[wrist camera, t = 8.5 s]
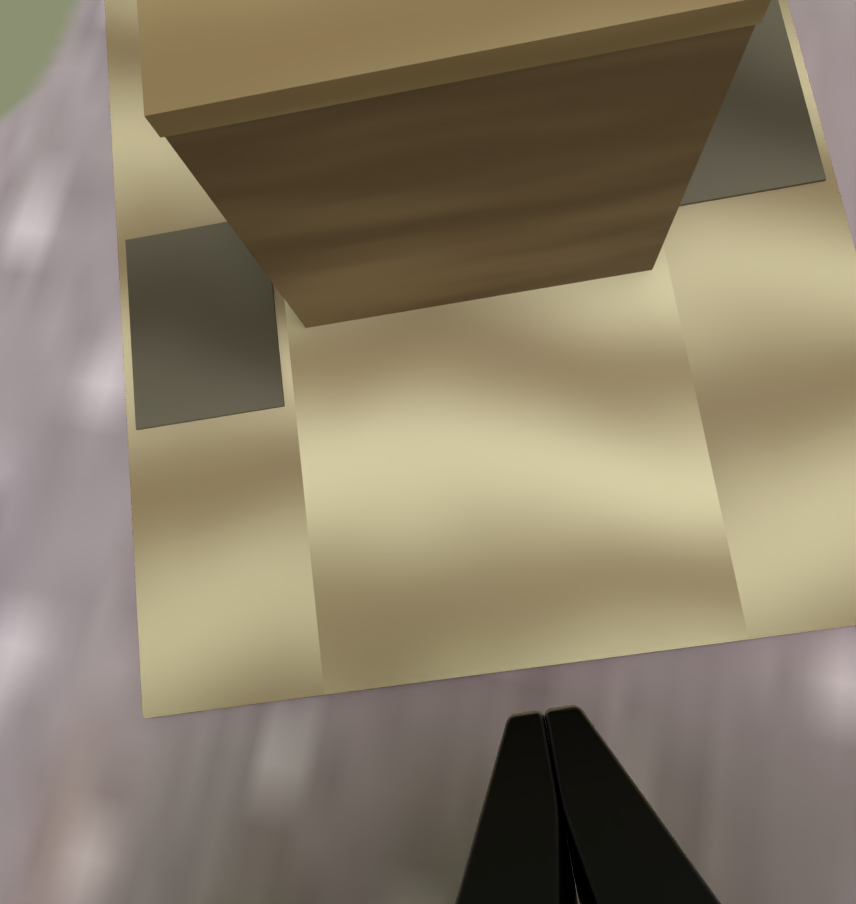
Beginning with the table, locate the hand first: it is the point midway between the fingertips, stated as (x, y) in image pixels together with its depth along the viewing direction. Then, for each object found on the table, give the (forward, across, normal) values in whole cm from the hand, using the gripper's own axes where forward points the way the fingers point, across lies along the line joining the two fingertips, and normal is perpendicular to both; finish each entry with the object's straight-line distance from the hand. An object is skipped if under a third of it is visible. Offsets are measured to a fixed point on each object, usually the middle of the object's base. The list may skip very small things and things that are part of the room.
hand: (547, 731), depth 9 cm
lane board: (+17, 0, -1) cm, 17 cm away
